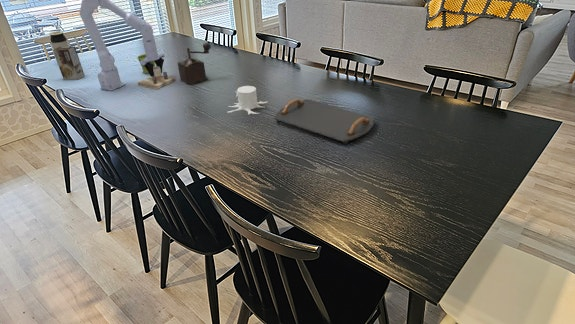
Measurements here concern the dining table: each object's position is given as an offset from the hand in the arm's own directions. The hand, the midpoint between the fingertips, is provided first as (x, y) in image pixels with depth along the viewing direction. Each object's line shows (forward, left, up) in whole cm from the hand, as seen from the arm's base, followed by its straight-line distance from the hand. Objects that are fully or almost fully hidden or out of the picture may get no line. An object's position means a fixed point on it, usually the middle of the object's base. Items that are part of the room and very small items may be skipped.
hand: (156, 74), depth 197 cm
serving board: (-9, -99, -4) cm, 99 cm away
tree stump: (-8, -62, -3) cm, 63 cm away
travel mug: (-1, +74, -3) cm, 74 cm away
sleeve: (0, 0, -1) cm, 1 cm away
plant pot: (+8, +14, -3) cm, 16 cm away
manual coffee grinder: (+10, -19, -3) cm, 22 cm away
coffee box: (-16, +46, -3) cm, 49 cm away
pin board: (-3, -3, -3) cm, 5 cm away
